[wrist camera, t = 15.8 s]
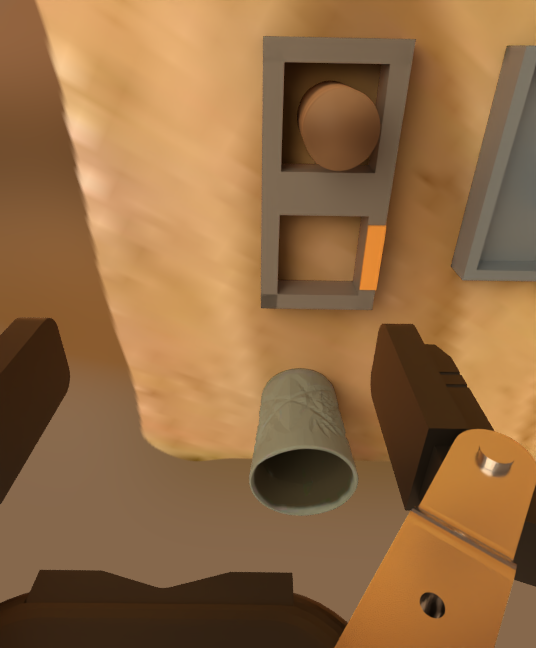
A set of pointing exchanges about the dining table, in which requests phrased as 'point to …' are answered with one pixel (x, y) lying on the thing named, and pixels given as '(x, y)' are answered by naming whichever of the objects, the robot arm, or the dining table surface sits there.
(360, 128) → the walnut peg
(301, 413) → the grey cup
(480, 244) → the tray
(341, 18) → the dining table surface
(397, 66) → the slot holder
